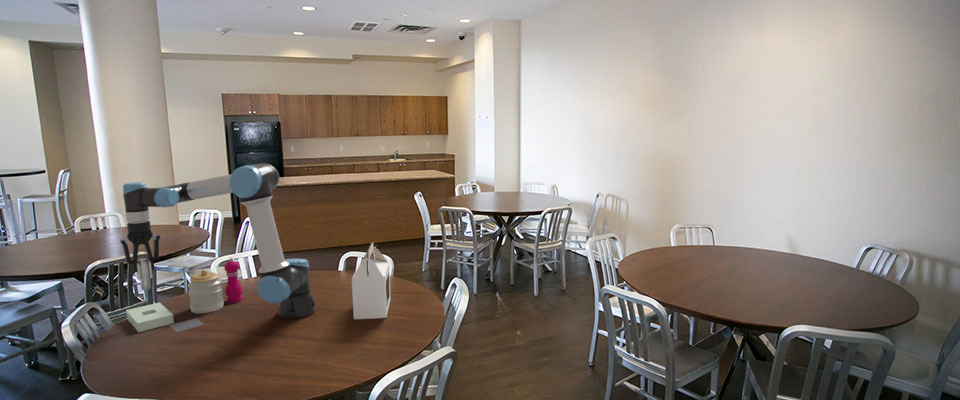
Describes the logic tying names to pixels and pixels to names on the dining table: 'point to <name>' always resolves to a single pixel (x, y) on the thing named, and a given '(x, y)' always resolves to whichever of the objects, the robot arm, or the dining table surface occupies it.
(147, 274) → the pin
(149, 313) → the socket block
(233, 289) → the pepper mill
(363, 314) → the gable box
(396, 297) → the dining table surface
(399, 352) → the dining table surface
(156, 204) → the robot arm
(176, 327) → the mat
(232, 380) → the dining table surface
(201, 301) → the jar
